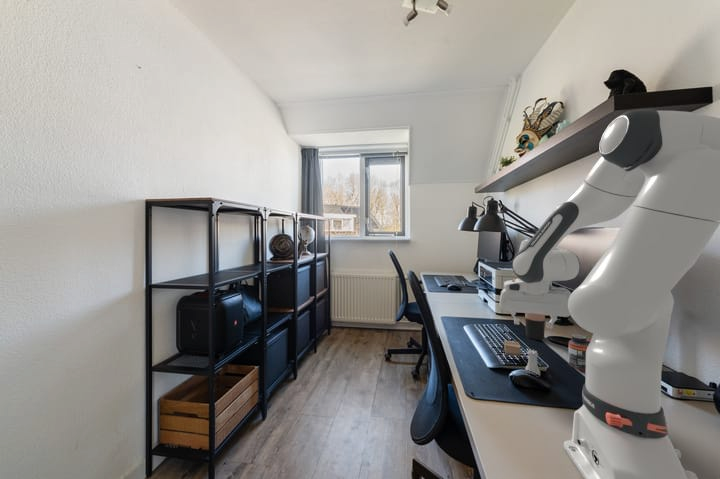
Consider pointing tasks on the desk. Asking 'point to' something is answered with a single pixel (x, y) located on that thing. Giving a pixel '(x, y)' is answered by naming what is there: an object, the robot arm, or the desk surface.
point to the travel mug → (535, 325)
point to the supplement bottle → (578, 352)
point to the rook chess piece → (532, 362)
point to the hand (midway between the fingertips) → (532, 325)
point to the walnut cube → (512, 348)
